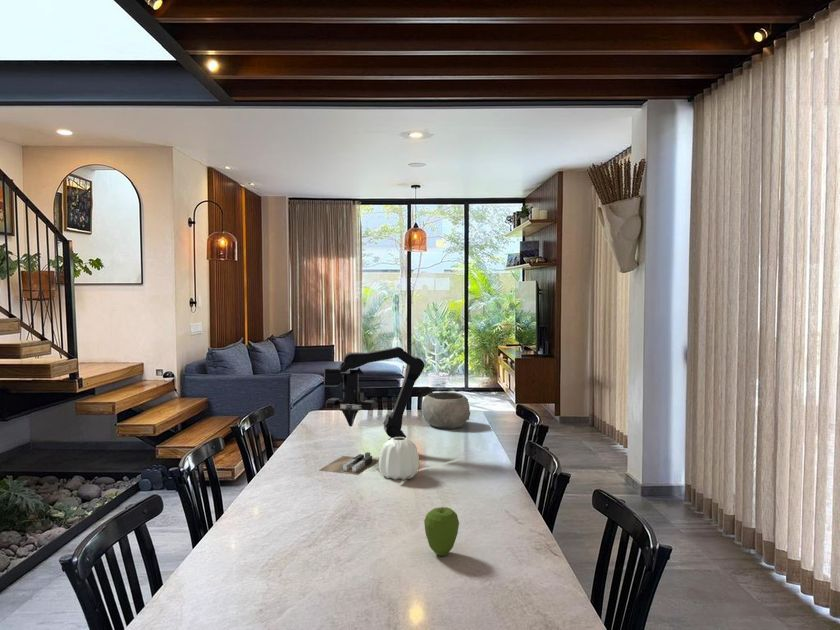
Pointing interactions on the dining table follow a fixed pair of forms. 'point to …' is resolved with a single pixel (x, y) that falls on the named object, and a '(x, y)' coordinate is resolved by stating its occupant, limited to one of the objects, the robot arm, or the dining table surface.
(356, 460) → the bar
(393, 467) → the vase
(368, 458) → the tongs fixed
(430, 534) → the apple
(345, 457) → the board
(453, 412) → the bowl
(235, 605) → the dining table surface
